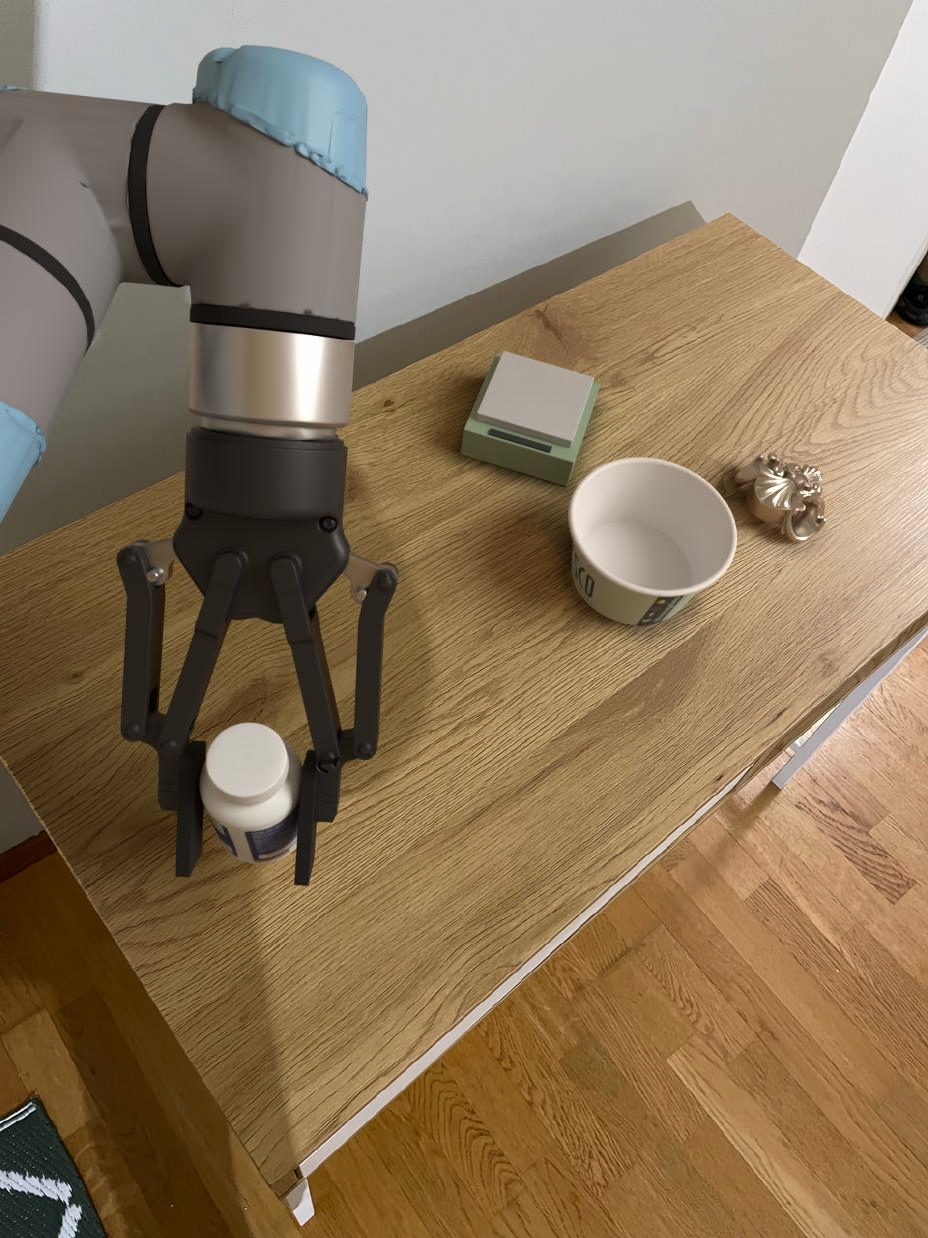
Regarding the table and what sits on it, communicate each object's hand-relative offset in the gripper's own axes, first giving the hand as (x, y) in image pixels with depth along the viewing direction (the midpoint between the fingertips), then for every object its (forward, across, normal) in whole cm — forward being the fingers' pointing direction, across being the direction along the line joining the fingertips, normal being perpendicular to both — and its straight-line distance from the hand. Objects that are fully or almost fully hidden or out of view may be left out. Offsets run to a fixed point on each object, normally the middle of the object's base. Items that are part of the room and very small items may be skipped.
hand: (247, 867), depth 50 cm
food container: (-13, -24, -24) cm, 36 cm away
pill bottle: (0, 0, -5) cm, 5 cm away
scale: (-23, -16, -33) cm, 43 cm away
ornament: (-19, -36, -29) cm, 51 cm away
